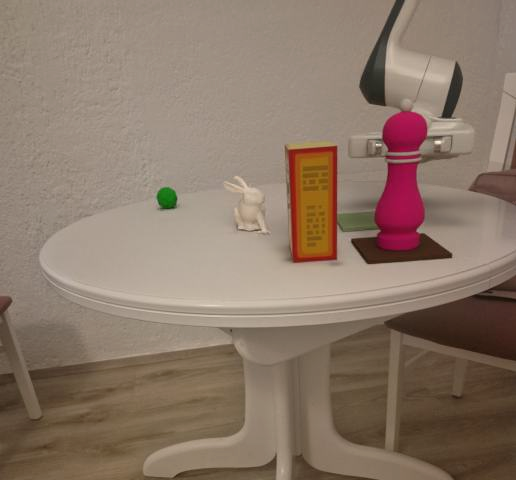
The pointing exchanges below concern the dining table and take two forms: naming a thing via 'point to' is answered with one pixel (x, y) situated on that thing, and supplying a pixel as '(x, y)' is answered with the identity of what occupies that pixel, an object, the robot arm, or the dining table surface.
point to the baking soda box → (312, 200)
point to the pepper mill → (401, 181)
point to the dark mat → (422, 252)
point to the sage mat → (357, 221)
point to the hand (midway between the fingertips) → (407, 148)
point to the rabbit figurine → (248, 206)
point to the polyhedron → (167, 198)
